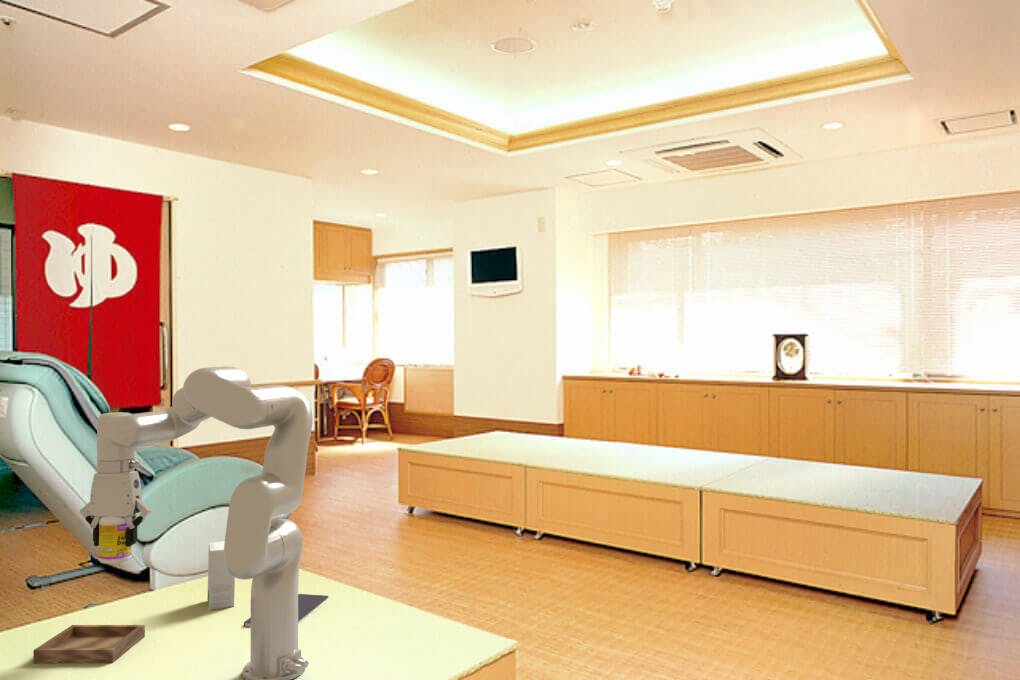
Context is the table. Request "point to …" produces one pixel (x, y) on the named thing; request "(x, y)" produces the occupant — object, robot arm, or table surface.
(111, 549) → the supplement bottle
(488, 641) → the table surface
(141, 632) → the holder tray
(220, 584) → the skincare box
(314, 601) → the notebook
